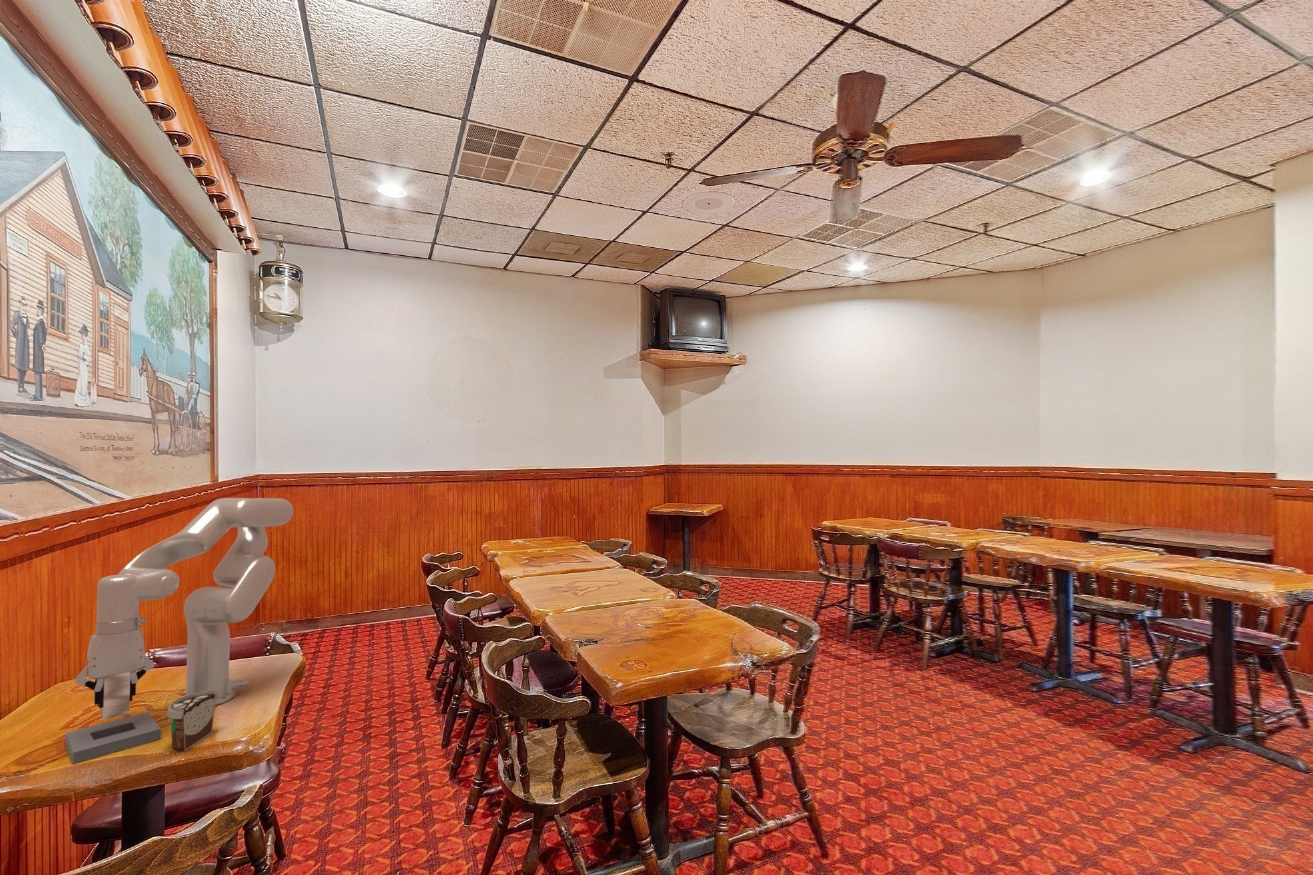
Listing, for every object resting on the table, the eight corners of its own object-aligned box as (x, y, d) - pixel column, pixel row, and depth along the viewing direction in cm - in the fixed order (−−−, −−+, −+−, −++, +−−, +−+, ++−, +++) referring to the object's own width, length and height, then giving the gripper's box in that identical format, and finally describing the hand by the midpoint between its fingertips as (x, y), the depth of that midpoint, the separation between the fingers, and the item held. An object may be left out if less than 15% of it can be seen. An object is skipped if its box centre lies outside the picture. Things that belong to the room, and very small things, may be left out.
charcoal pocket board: (147, 721, 150) (147, 711, 150) (160, 739, 140) (160, 728, 140) (65, 743, 138) (65, 732, 139) (73, 763, 129) (73, 752, 129)
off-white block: (125, 708, 143) (126, 667, 143) (129, 713, 140) (130, 671, 141) (100, 714, 140) (101, 672, 140) (103, 720, 137) (104, 677, 137)
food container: (190, 730, 145) (191, 690, 145) (216, 729, 145) (217, 689, 146) (151, 755, 133) (153, 710, 133) (180, 754, 133) (181, 709, 133)
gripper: (159, 616, 150) (157, 688, 149) (66, 631, 137) (63, 710, 136) (165, 621, 145) (163, 695, 144) (70, 637, 132) (67, 719, 131)
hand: (115, 702), depth 140 cm, fingers closed on off-white block, 4 cm apart
